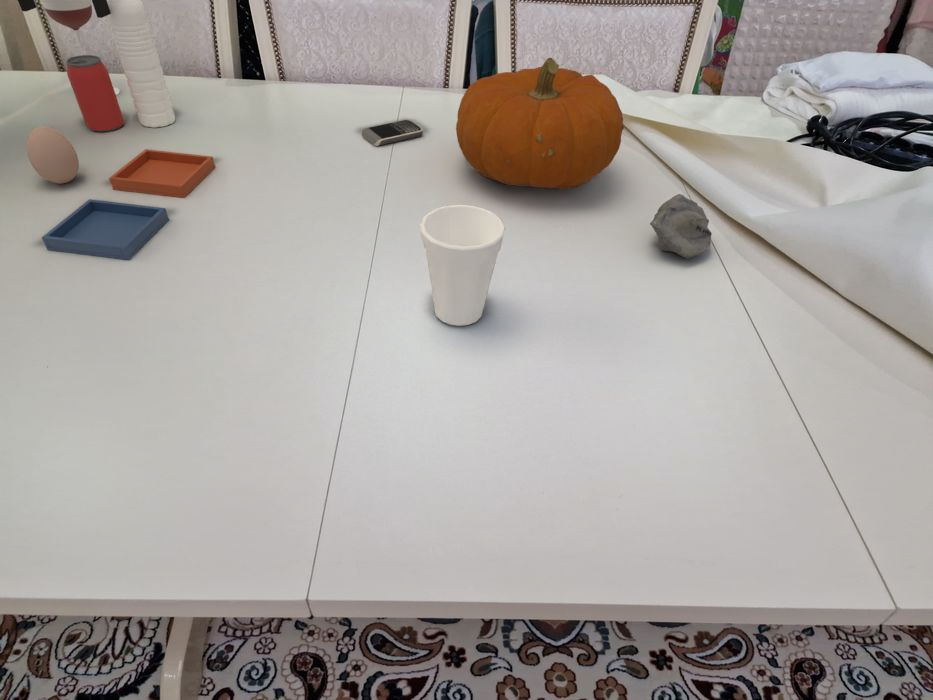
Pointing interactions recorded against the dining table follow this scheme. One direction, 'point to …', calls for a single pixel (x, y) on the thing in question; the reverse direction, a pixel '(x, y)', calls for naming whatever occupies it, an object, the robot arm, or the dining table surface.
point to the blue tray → (106, 229)
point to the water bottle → (140, 62)
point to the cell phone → (392, 132)
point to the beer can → (94, 93)
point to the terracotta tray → (163, 173)
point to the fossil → (682, 227)
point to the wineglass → (71, 16)
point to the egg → (52, 155)
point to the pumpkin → (539, 127)
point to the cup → (461, 259)
